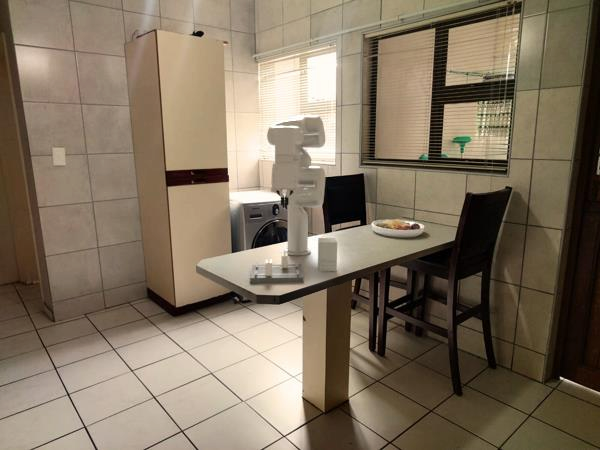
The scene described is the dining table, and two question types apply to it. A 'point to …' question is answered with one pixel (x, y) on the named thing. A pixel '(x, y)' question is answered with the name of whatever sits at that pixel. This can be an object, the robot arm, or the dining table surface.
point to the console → (277, 274)
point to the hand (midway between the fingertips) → (284, 207)
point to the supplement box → (327, 254)
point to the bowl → (397, 228)
